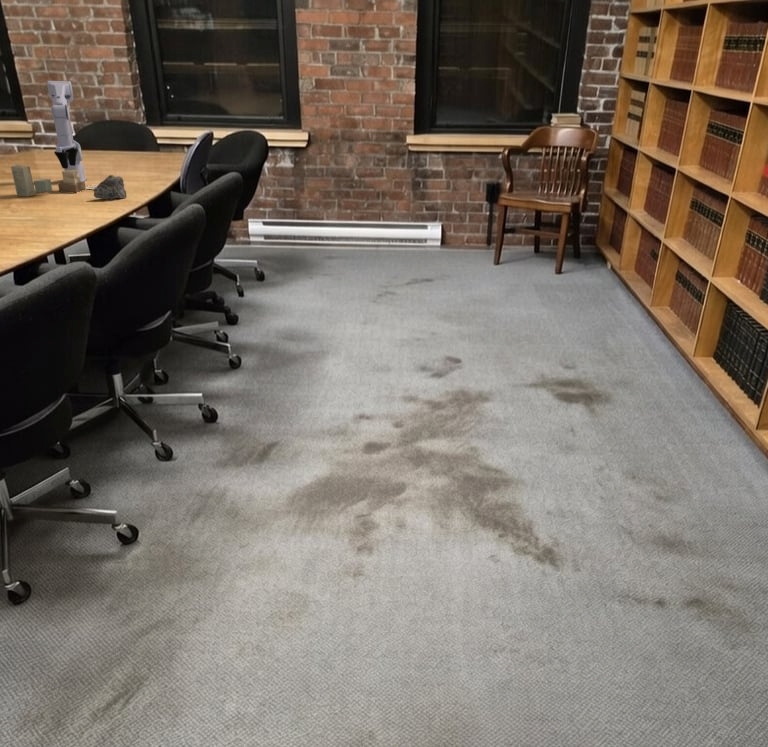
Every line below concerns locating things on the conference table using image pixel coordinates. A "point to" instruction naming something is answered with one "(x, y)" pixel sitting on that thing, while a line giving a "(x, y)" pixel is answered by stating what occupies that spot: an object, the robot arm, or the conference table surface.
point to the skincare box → (23, 180)
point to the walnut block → (72, 187)
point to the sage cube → (43, 185)
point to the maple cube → (71, 176)
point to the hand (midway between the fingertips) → (69, 166)
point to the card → (91, 187)
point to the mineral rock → (110, 188)
